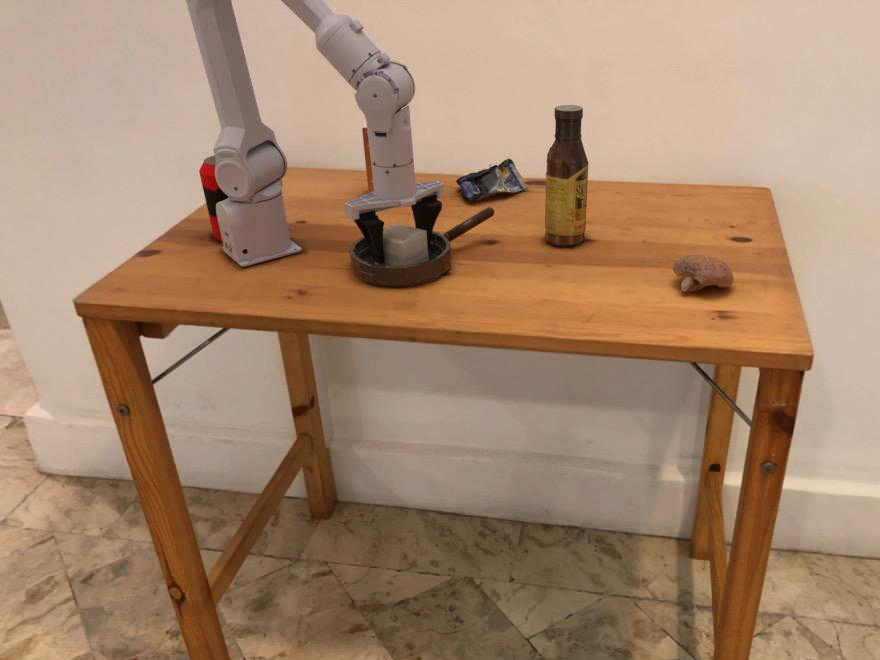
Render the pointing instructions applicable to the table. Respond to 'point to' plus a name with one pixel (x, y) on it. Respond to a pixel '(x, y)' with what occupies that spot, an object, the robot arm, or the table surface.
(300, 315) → the table surface
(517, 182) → the snack package
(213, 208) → the soda can
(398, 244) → the small box
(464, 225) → the pan handle
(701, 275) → the mushroom
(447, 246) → the pan
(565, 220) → the sauce bottle
